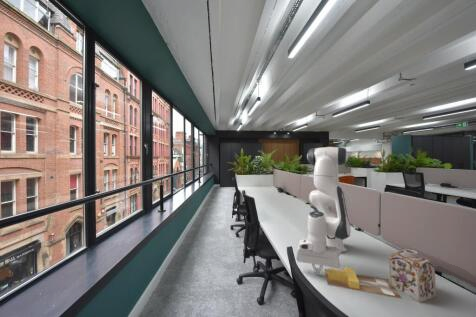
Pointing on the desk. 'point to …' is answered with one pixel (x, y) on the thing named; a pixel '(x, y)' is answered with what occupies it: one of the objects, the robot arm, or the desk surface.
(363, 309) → the desk surface
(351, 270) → the t block
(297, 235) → the desk surface
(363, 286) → the board
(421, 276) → the decorative jar
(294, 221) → the desk surface
